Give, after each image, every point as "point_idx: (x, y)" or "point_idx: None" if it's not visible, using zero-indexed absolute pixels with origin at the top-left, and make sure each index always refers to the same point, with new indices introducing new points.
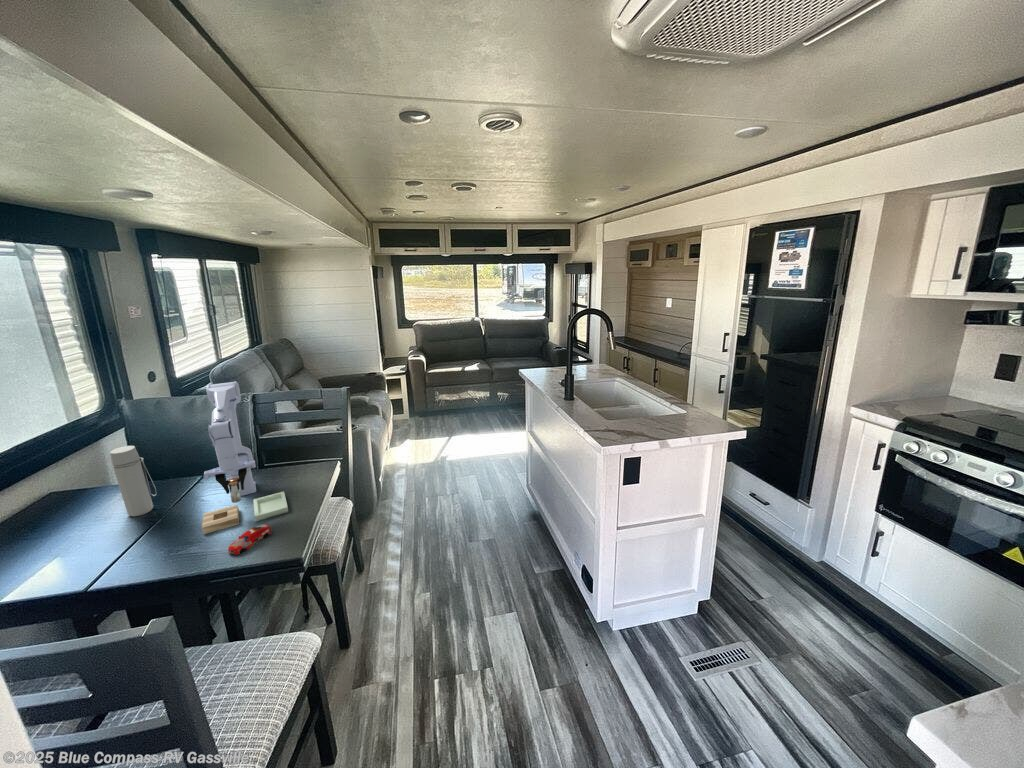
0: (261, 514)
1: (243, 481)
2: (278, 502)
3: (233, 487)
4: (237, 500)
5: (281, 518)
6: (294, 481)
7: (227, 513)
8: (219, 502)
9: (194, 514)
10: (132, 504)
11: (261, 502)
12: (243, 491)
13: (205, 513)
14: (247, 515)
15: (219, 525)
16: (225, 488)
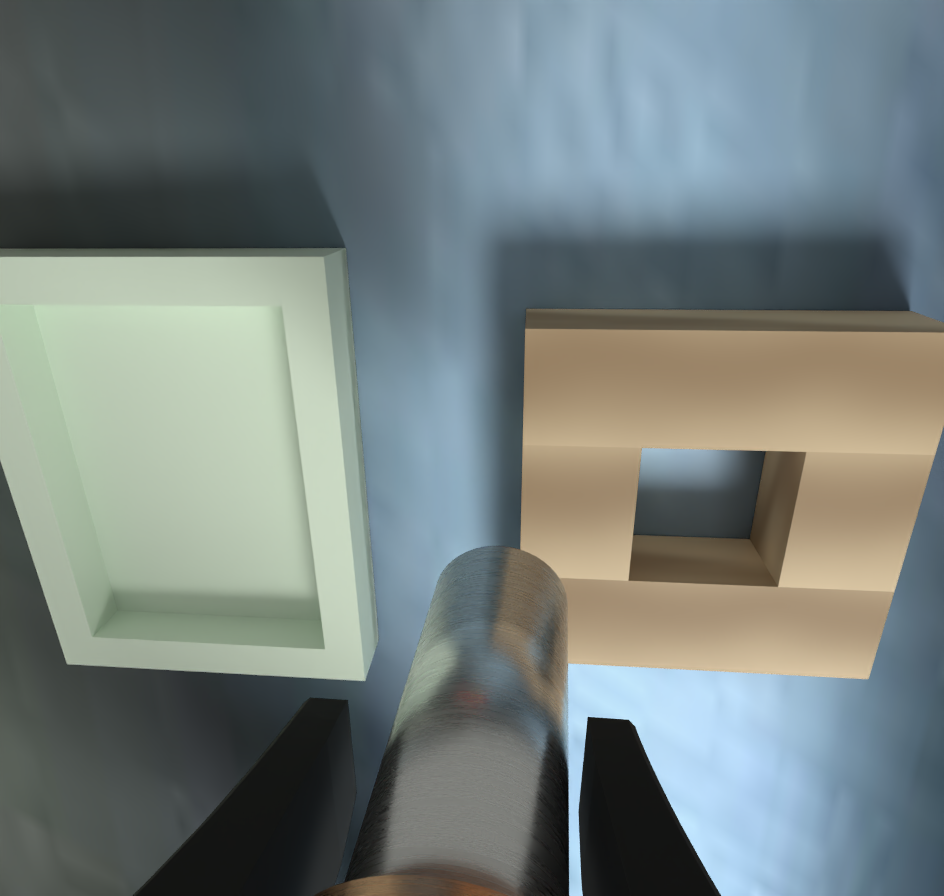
0: (242, 256)
1: (148, 890)
2: (128, 512)
3: (468, 805)
4: (479, 563)
5: (50, 123)
6: (62, 815)
7: (633, 523)
8: None
9: (893, 773)
10: None
11: (302, 615)
12: None
13: (851, 669)
14: (438, 455)
15: (745, 320)
16: (665, 851)
